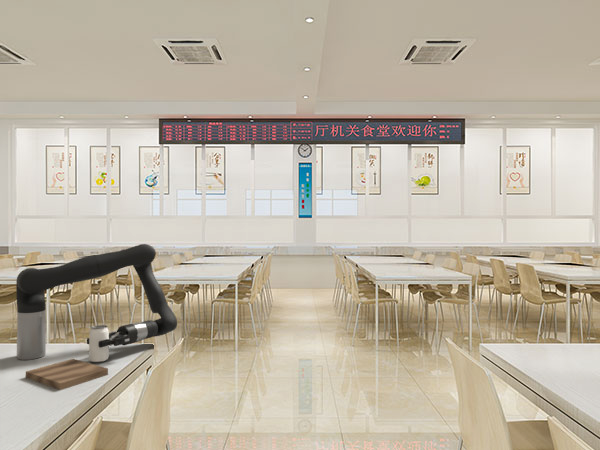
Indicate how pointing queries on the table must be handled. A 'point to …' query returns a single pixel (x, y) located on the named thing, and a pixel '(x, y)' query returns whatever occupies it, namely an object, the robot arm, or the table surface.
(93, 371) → the serving board
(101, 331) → the can
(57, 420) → the table surface
